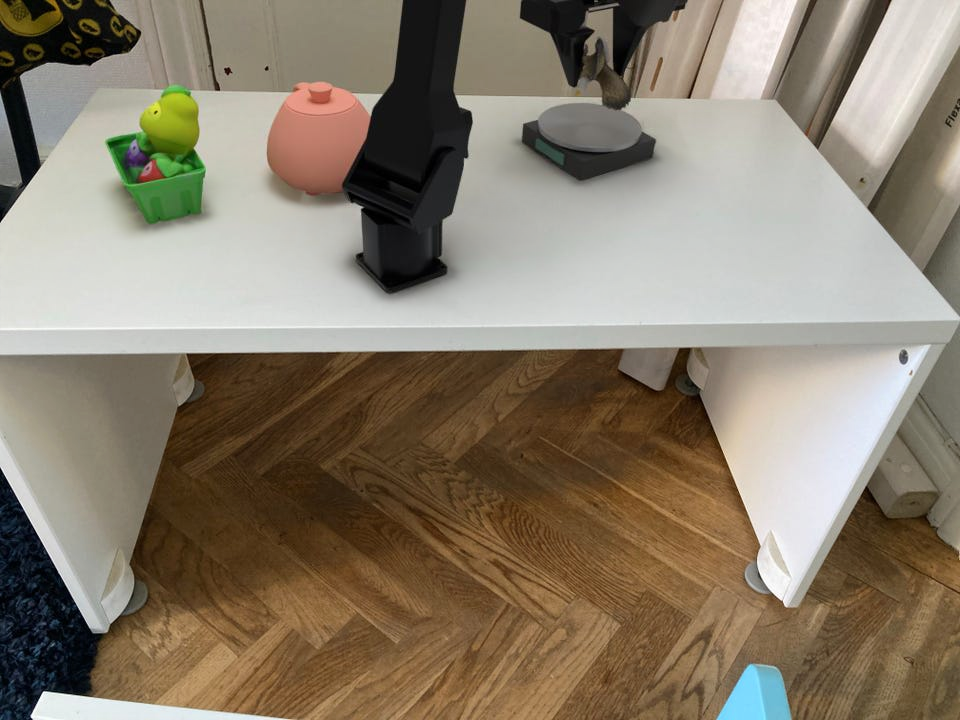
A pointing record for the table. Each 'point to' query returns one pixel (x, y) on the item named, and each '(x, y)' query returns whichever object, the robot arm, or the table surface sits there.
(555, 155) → the scale
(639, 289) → the table surface
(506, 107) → the table surface
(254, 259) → the table surface
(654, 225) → the table surface
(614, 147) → the scale pan
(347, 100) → the sugar bowl
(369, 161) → the robot arm
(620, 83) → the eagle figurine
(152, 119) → the fruit basket
